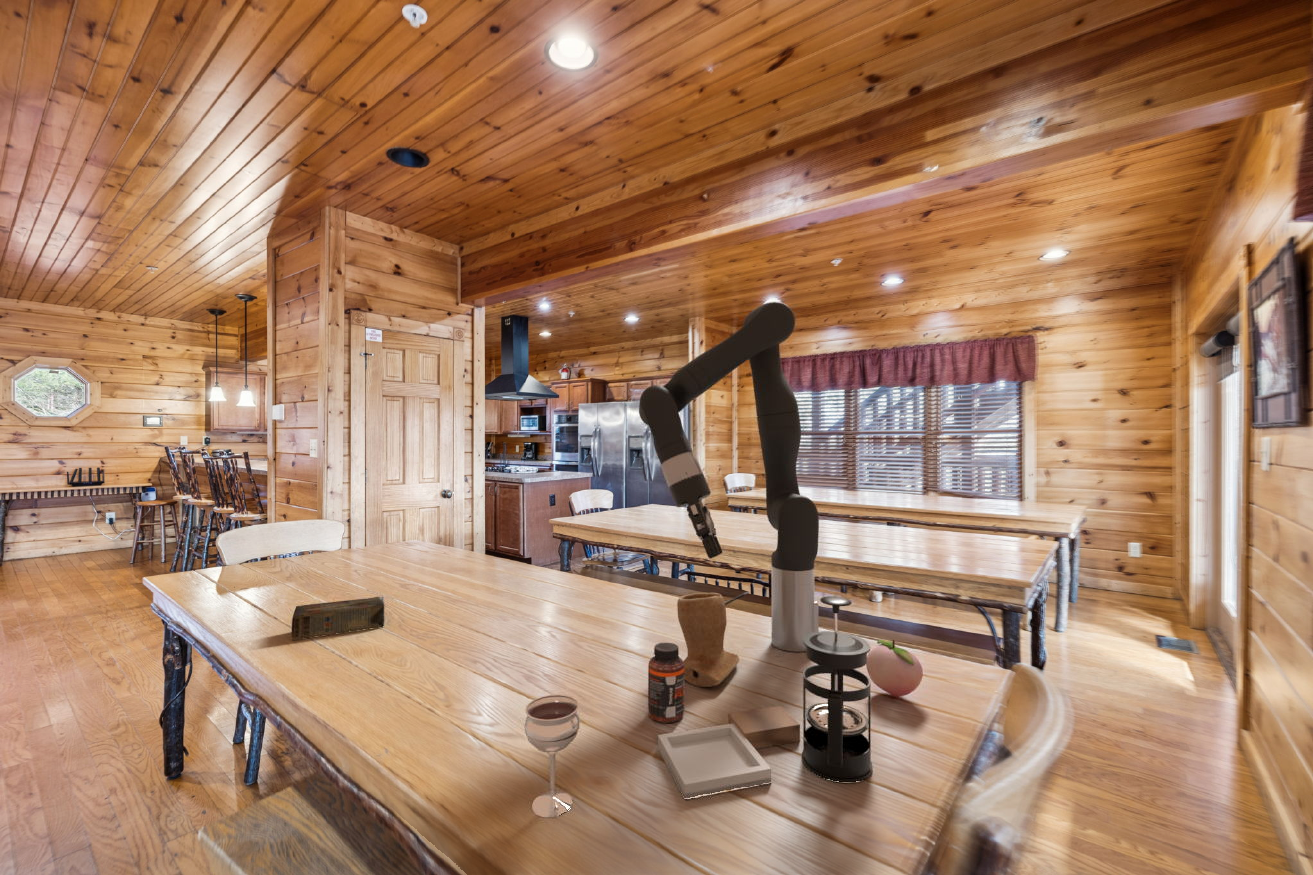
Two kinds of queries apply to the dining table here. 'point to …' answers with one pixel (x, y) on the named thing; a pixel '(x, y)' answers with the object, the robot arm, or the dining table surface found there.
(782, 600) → the robot arm
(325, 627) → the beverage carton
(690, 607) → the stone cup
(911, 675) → the decorative fruit
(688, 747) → the tray
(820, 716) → the french press
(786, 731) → the brown block
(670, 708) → the supplement bottle
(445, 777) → the dining table surface
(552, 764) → the wineglass
